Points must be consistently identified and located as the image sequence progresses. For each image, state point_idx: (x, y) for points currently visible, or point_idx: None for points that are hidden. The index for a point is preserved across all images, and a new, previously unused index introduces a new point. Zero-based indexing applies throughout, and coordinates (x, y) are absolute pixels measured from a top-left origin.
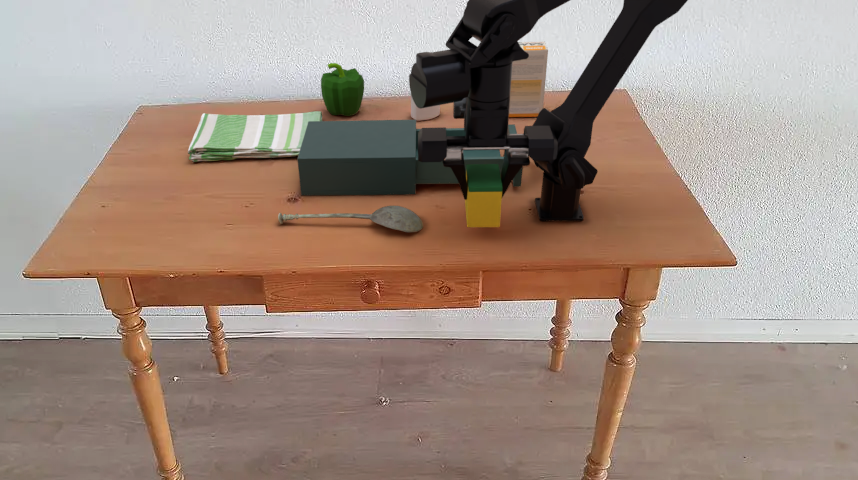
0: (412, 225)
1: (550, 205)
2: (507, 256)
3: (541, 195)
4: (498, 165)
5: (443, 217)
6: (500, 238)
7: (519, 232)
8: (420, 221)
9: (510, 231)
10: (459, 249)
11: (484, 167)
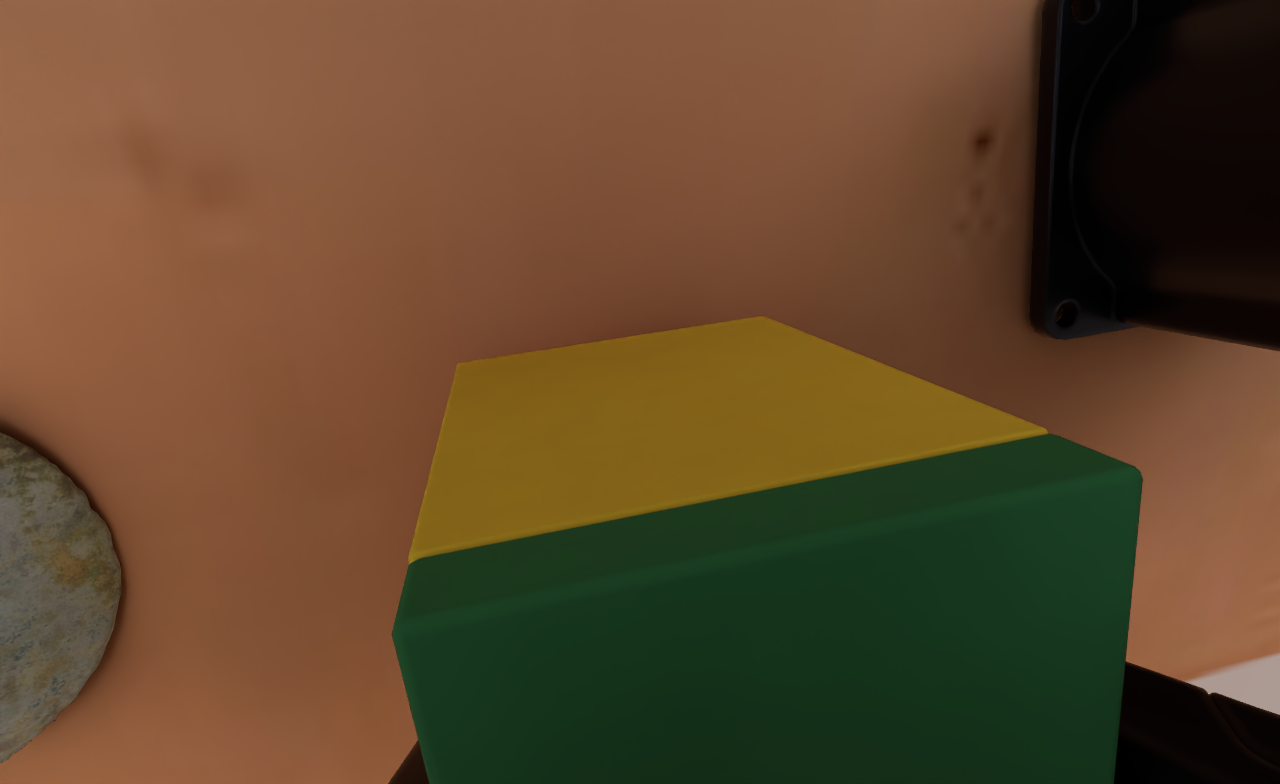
0: (5, 712)
1: (1199, 297)
2: None
3: (1187, 177)
4: (1135, 533)
5: (271, 366)
6: None
7: None
8: (63, 561)
9: None
10: None
11: (848, 702)
